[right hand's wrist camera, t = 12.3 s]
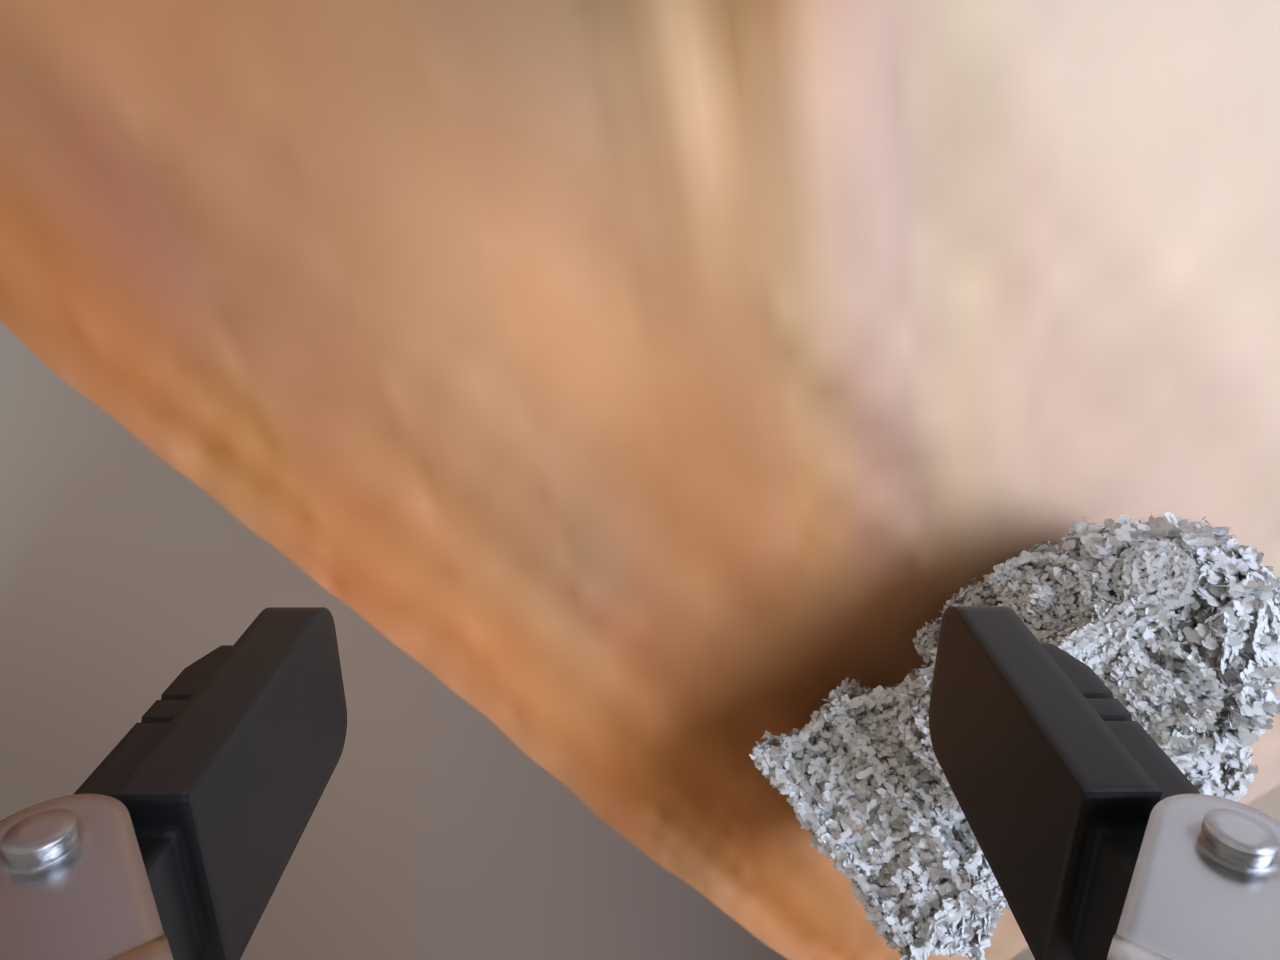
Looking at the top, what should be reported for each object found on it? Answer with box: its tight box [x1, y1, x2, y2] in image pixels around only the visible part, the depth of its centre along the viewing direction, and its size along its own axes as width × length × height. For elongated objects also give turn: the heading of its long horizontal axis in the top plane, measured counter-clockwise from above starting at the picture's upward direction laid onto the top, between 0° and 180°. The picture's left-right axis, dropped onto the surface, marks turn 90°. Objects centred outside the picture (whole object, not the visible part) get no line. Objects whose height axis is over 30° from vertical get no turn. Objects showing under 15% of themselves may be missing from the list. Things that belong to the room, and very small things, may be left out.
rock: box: [749, 511, 1280, 960], centre depth 46 cm, size 17×17×28 cm
